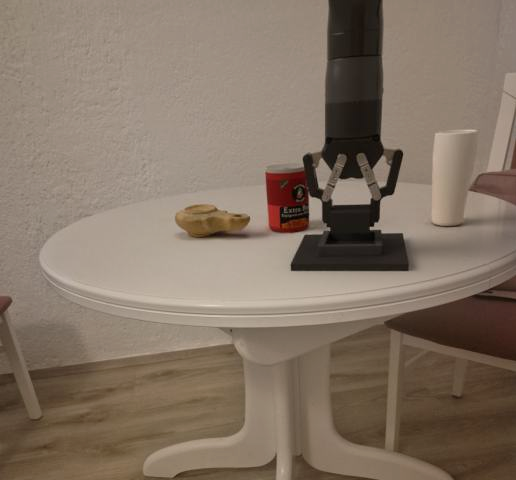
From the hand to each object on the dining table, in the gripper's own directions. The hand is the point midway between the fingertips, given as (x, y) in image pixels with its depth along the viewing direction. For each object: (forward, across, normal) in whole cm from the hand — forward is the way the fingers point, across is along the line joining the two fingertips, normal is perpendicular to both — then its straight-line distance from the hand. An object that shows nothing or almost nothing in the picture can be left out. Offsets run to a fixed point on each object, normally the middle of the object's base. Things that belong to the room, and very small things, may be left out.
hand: (350, 225), depth 71 cm
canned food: (+5, -12, +17) cm, 21 cm away
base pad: (+4, 0, 0) cm, 4 cm away
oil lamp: (+5, -26, +13) cm, 29 cm away
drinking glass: (+4, +16, +18) cm, 25 cm away
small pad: (0, 0, 0) cm, 0 cm away
